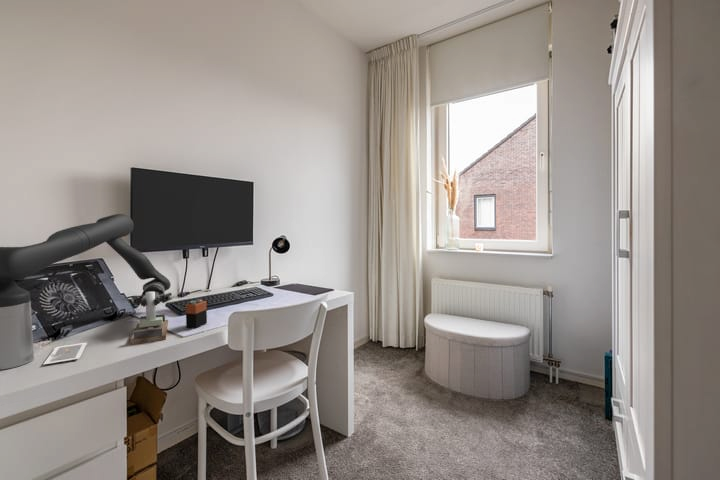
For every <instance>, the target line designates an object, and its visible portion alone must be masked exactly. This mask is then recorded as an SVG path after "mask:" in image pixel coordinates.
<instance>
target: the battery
mask: <svg viewBox="0 0 720 480" xmlns="http://www.w3.org/2000/svg"><path fill="white" fill-rule="evenodd" d="M207 310H208V309H207V301H206V300H202V299H201V298H198V299H197V300H191V301H190V302H189V303H186V304H185V325H186V326H185V327H186V328H188V329H197V328H198V329H199V328H200V327H202V326H204V325H207V323H208V322H207V321H208V319H207V318H208V315H207Z"/></svg>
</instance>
